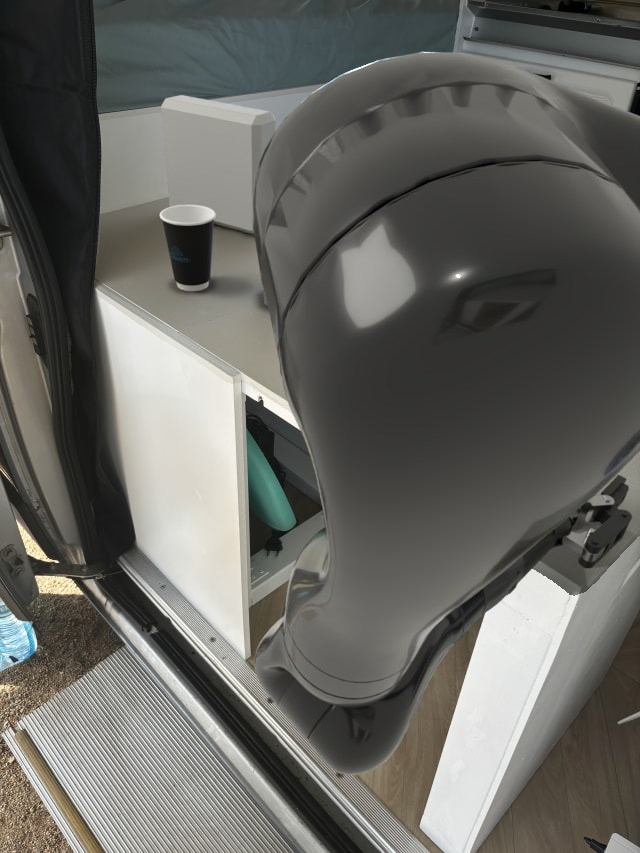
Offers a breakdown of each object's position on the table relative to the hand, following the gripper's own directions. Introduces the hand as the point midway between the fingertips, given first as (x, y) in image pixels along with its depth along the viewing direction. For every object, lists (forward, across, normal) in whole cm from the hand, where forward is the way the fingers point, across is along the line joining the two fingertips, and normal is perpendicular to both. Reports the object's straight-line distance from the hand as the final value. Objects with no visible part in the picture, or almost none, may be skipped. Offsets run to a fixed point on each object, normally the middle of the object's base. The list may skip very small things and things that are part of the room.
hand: (575, 460), depth 61 cm
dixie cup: (+3, +64, +6) cm, 64 cm away
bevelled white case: (+25, +83, +6) cm, 87 cm away
